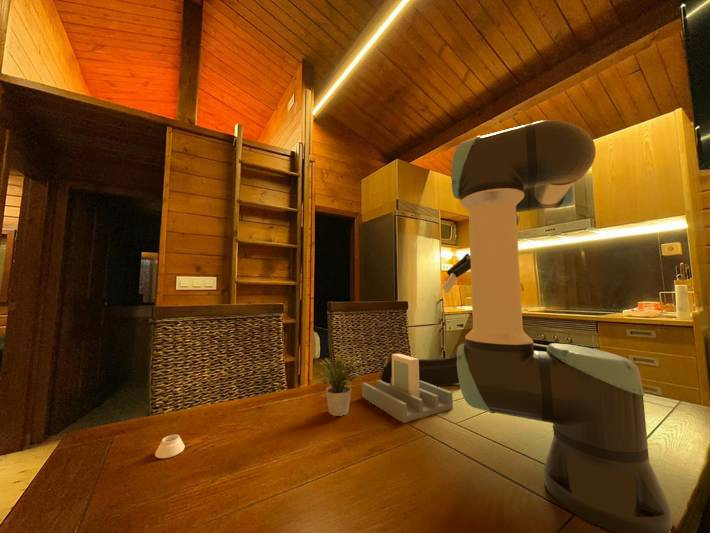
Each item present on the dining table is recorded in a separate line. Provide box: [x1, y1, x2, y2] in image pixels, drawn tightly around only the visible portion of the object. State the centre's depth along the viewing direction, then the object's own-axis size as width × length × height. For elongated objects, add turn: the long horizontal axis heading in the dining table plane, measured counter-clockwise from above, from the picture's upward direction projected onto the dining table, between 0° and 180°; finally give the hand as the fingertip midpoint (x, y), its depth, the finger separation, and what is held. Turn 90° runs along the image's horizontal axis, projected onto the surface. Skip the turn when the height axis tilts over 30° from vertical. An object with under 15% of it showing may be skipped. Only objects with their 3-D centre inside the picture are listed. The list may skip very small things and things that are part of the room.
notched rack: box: [361, 378, 454, 424], centre depth 85 cm, size 18×20×4 cm
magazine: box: [379, 353, 460, 387], centre depth 101 cm, size 17×3×30 cm
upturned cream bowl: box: [154, 434, 186, 459], centre depth 58 cm, size 5×3×5 cm
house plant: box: [318, 350, 366, 417], centre depth 77 cm, size 14×14×16 cm
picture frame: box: [391, 353, 420, 398], centre depth 85 cm, size 3×9×12 cm, turn 30°
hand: (462, 289), depth 85 cm, fingers open, 13 cm apart
